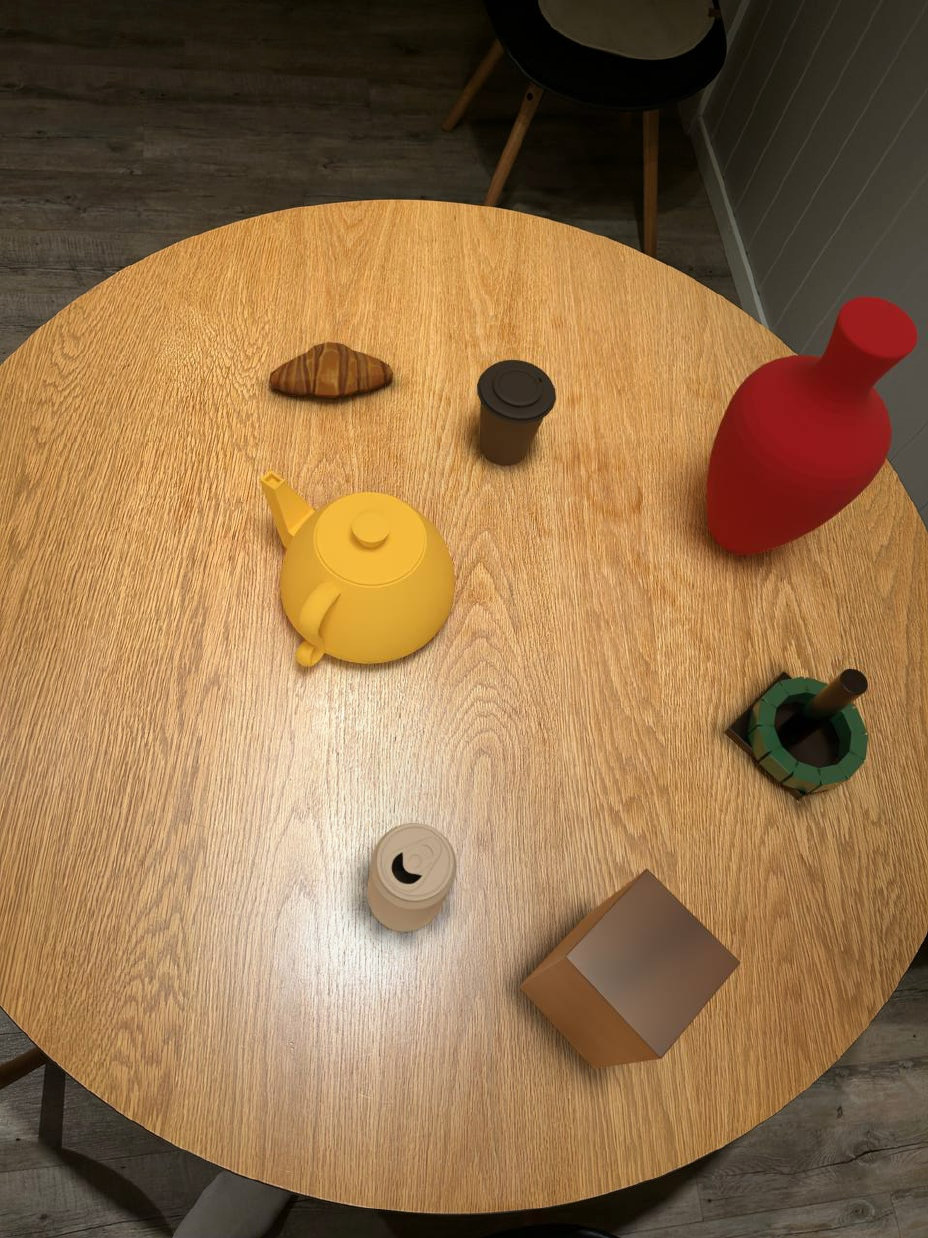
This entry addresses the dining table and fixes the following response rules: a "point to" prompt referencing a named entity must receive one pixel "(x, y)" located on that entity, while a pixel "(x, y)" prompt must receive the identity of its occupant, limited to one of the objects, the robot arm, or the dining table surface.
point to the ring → (785, 764)
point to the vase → (806, 433)
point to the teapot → (360, 574)
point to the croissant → (330, 373)
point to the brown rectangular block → (630, 976)
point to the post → (806, 723)
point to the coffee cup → (512, 409)
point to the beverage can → (410, 876)
